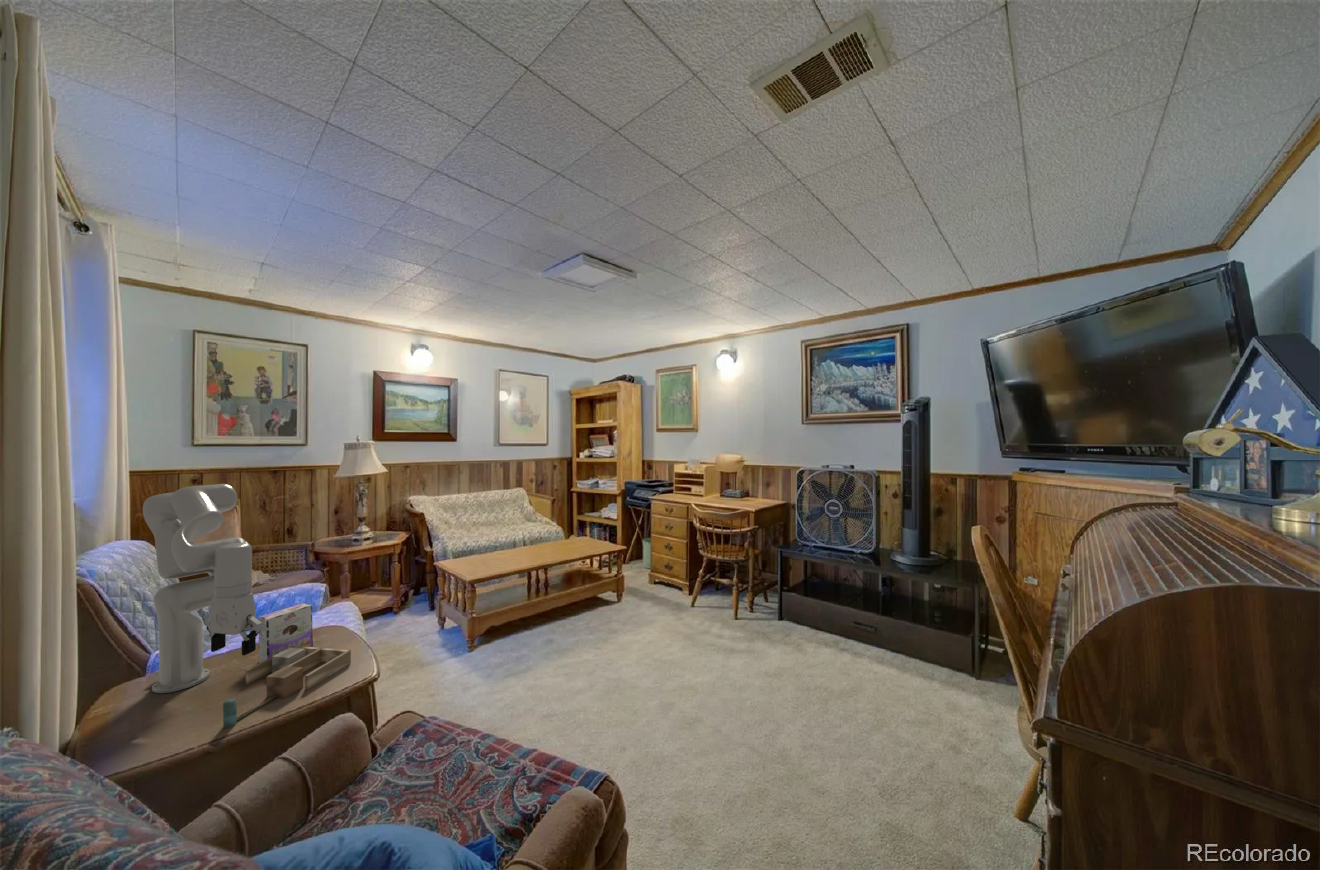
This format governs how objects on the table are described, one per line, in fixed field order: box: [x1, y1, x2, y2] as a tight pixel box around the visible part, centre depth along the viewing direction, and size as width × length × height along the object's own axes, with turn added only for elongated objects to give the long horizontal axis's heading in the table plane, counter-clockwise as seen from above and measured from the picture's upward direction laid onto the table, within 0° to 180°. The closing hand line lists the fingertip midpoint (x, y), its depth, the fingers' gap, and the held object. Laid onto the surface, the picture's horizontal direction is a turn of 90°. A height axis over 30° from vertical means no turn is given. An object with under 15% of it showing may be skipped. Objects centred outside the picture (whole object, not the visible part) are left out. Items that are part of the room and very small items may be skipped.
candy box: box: [258, 602, 314, 663], centre depth 159 cm, size 14×6×16 cm, turn 154°
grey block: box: [271, 648, 305, 674], centre depth 149 cm, size 6×6×6 cm
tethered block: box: [222, 666, 304, 729], centre depth 130 cm, size 6×20×7 cm, turn 172°
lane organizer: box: [244, 646, 352, 690], centre depth 148 cm, size 22×16×5 cm
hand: (233, 651), depth 124 cm, fingers open, 9 cm apart
